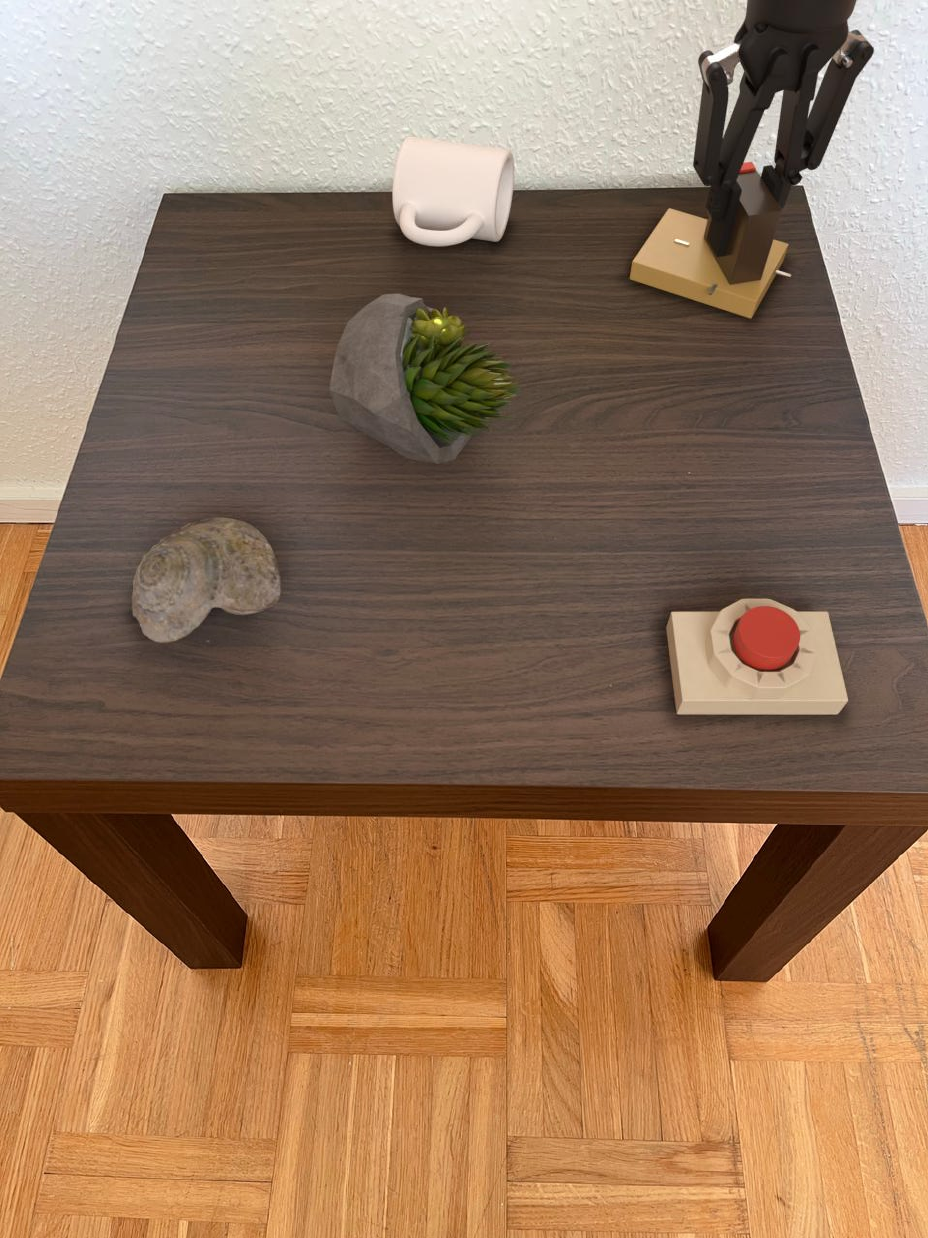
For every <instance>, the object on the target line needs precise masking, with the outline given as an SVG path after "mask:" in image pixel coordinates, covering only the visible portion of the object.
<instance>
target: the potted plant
mask: <svg viewBox="0 0 928 1238" xmlns="http://www.w3.org/2000/svg"><path fill="white" fill-rule="evenodd" d="M467 333H468V330H467V329H466V326H465V325H464V323H463V321H462V318H460V317H458V316H457V315H451V316H450V313H449V310H448V309H447V307H446V306H445V307H443V310H442V314H441V312H440V311H439V310H437V309H436V308H432V307H429V306H426V304H425V302H424V298H422V297H414V296H409V295H406V294H402V293H387V294H382V295H380V296H378V297H377V298H375V299H374V300H372V301H370V302H369V303H367V304H366V305H364V307H363V308H361V309H360V310H359V311H358V312H357V313H356V314H354V315H353V317H351V318H350V319H349V320H348V321H347V323H346V325H345V327H344V330H343V332H342V335H341V337H340V339H339V342H338V345H337V347H336V348H335V354H334V360H333V364H332V371H331V377H330V382H329V388H328V391H329V394H330V398H331V400H332V402H333V406H334V407H335V411H336V414H337V417H338V420H340V421H341V422H343V423H345V424H347V425H349V426H350V427H352V428H354V429H355V430H357V431H359V432H360V433H362V434H364V435H366V436H368V437H370V438H371V439H374V441H377V442H378V443H380V444H382V445H384V446H386V447H387V448H389V449H391V450H393V451H394V452H395V453H397V454H399V455H400V456H401V457H403V458H404V459H407V460H408V459H409V460H412V461H413V460H414V461H421V462H424V463H430V464H442V463H447V462H452V461H455V460H456V458H457V457H458V456H459V454H461V451H462V450H463V449H464V448H465V446H466V444H467V443H468V442H469V440H470V439H471V437H473V436H476V437H477V436H478V434H476V433H475V432H480V431H481V430H484V431H490V432H493V430H492V429H491V428H489V427H488V426H487V425H485V424H484V423H494V421H493V420H507V419H508V420H509V419H510V417H509V416H505V414H507V412H504V411H499V410H497V409H502V408H504V407H508V406H511V403H512V402H513V401H512V400H509V399H512V398H515V397H518V396H519V395H518V394H515V393H516V392H519V391H521V390H522V388H517V387H516V386H517V385H519V382H513V381H511V379H515V378H516V377H515V376H512V375H508V374H506V373H510V372H511V370H510V369H507V368H508V367H510V366H511V365H512V364H513V362H505V361H504V360H501V359H503V358H504V357H502V356H499V357H495V356H496V355H497V354H498V353H491V352H492V351H490V350H489V351H485V350H486V349H487V348H488V346H490V345H491V344H492V342H489V343H485V344H484V343H483V344H481V345H479V342H474V343H471V344H468V345H465V346H463V347H462V345H463V343H464V340H465V338H466V336H467ZM477 345H478V346H477ZM502 414H504V415H502ZM490 419H491V420H490ZM483 422H484V423H483Z"/></svg>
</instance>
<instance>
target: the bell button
mask: <svg viewBox="0 0 928 1238" xmlns="http://www.w3.org/2000/svg"><path fill="white" fill-rule="evenodd" d="M799 642H800V631H799V628H798V625H797V624H796V622H795V621H794V619H793V618H792V617H791V616H790V615H789V614H787V613H786V612H784V611H782V610H780V609H778V608H775V607H770V606H759V607H755V608H752V609H750V610H748V611H747V612H746V613H745V614H744V615H743V616H742V617H741V619H740V621H739V623H738V625H737V627H736V630H735V632H734V635H733V646H734V649H735V651H736V653H737V655H738V656H739V657H740V658H741V660H743V661H744V662H745V663H746V664H748V665H750V666H751V667H754V668H757V669H761V670H774V669H778V668H780V667H782V666H784V665H785V664H787V663H788V661H789V660H790V659H791V657H792V655H793V654H794V652H795V650H796V649H797V647H798V645H799Z"/></svg>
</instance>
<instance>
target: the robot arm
mask: <svg viewBox="0 0 928 1238" xmlns="http://www.w3.org/2000/svg"><path fill="white" fill-rule="evenodd" d="M857 1H858V0H746V8H745V9H746V10H745V16H744V20H743V22H742V24H741V25H740V27H739V29H738V30H737V32H736V33H735V35H734V38H733V43H731V44H729V45H728V46H727V47H725V48H723V49H721V50H720V51H718V52H716V53H715V54H714V53H713V51H711V50H710V49H709V50H704V51H703V52H701V54H700V55H699V56H698V59H697V65H698V68H699V73H700V76H701V80H702V87H701V96H700V102H699V103H700V104H699V110H698V111H699V113H698V118H697V119H698V121H697V128H696V135H695V136H696V137H695V145H694V153H693V159H692V160H693V162H692V168H693V169H694V171H695V172H696V174H697V176H698V178H699V180H700V181H701V183H702V184H703V186H705V187H709V191H708V195H707V200H706V204H705V210H706V213H707V216H709V217H710V218H711V222H710V226H709V230H708V235H707V241H708V242H709V244H710V246H711V248H712V250H713V252H714V253H715V255H716V257H723V256H725V253H726V249H727V245H728V242H729V238H730V234H731V230H732V226H733V223H734V219H735V215H736V211H737V207H738V203H739V200H740V196H741V192H742V189H741V187H740V186H739V184H738V182H737V181H736V180H737V178H738V175H739V173H740V170H741V168H742V165H743V163H745V160H746V158H747V155H748V153H749V150H750V147H751V146H752V143H753V141H754V138H755V135H756V134H757V130H758V129H759V126H760V123H761V120H762V118H763V116H764V113H765V112H766V110H769V109H770V107H771V105H772V103H773V101H774V98H775V95H776V94H777V93H779V92H782V97H781V98H782V99H781V107H780V111H779V112H780V113H779V121H778V128H777V135H776V143H775V150H774V156H773V157H774V158H773V161H774V164H775V165H774V166H773V164H769V165H763V168H762V171H761V174H760V177H761V178H762V180H763V181H764V183H765V184H766V186H767V188H768V189H769V191H770V192H771V194H772V195H773V197H774V198H775V200H776V202H777V203H778V205H779V206H780V208H781V209H782V210H783V209H784V207H785V206H786V204H787V201H788V199H789V194H790V192H791V187H794V186H795V187H796V186H797V185H798V184H800V183H801V181H802V179H803V175H802V174H801V173H800V172H803V171H805V170H806V169H808V170H809V171H814V170H816V169H818V168H819V167H820V166H821V164H822V162H823V159H824V158H825V154H826V152H827V149H828V147H829V145H830V142H831V140H832V137H833V135H834V133H835V130H836V128H837V125H838V123H839V120H840V118H841V115H842V114H843V111H844V108H845V106H846V104H847V101H848V99H849V97H850V94H851V92H852V89H853V87H854V84H855V82H856V80H857V78H858V77H859V75H860V74H861V73H862V71H863V70H864V68H865V67H866V66H867V64H868V63H869V61H870V60H871V59H872V57H873V55H874V53H875V47H873V45H872V44H871V43H870V42H869V40H868V39H867V38H866V37H865V36H864V34H863V33H862V32H861V31H860V30H859V29H854V30H851V31H850V29H849V28H850V27H849V22H848V20H849V19H850V18H851V16H852V14H853V12H854V10H855V7H856V4H857ZM828 62H829V63H828ZM739 63H740V65H741V68H742V69H743V74H742V76H741V78H740V81H739V85H738V86H739V87H738V89H739V92H738V96H737V99H736V102H735V105H734V107H733V110H732V113H731V115H730V118H729V120H728V123H727V126H726V129H725V125H726V120H727V119H726V118H727V111H728V104H729V97H730V96H729V86H730V85H731V84H733V82H734V75H735V69H736V67H737V65H738V64H739ZM826 65H827V68H826V70H825V73H824V75H823V77H822V80H821V83H820V84H819V85H820V86H819V88H818V90H817V84H818V79H819V78H818V77H819V73H820V71H822V70H823V68H825V66H826ZM816 90H817V93H816ZM812 101H813V103H812V106H811V102H812ZM810 107H811V108H810Z"/></svg>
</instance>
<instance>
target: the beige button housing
mask: <svg viewBox="0 0 928 1238" xmlns="http://www.w3.org/2000/svg"><path fill="white" fill-rule="evenodd" d="M759 606H770V607H775V608H778V609H780V610H782V611H784V612H786V613H787V614H789V615H790V616H791V617H792V618H793V619H794V621H795V622H796V624H797V625H798V628H799V631H800V642H799V645H798V647H797V649H796V650H795V652H794V654H793V655H792V657H791V659H790V660H789V661H788V663H787V664H785V665H784V666H782V667H780V668H778V669H774V670H761V669H757V668H754V667H751V666H750V665H748V664H746V663H745V662H744V661H743V660H741V658H740V657H739V656H738V655H737V653H736V651H735V649H734V646H733V635H734V632H735V630H736V627H737V625H738V623H739V621H740V619H741V617H742V616H743V615H744V614H745V613H746V612H747V611H748V610H750V609H752V608H755V607H759ZM665 628H666V637H667V638H666V639H667V646H668V654H669V655H668V656H669V663H670V671H671V679H672V687H673V696H674V704H675V705H674V706H675V710H676V715H826V716H827V715H828V716H829V715H833V716H834V715H839V714H840V712H841V711H842V710H843V708H844V707H845V706H846V704H847V703H848V702H849V697H848V693H847V689H846V684H845V680H844V676H843V675H844V674H843V671H842V668H841V662H840V657H839V653H838V649H837V645H836V640H835V637H834V636H835V635H834V633H833V629H832V624H831V619H830V614H829V612H828V611H797V610H795V608H792V607H789V606H787V605H785V604H783V603H780V602H778V601H776V600H774V599H771V598H741V599H738V601H735V602H733V603H731V604H730V605H728V606H726V607H724V608H722V609H721V610H720V611H671V612H670V615H669V618H668V621H667V624H666V627H665Z"/></svg>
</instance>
